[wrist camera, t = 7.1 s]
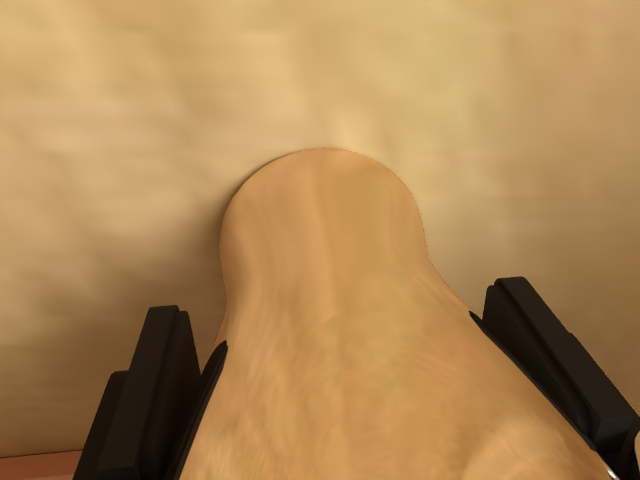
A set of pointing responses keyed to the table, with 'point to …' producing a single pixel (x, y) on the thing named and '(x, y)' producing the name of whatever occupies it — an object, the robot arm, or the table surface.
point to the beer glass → (358, 349)
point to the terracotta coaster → (40, 466)
